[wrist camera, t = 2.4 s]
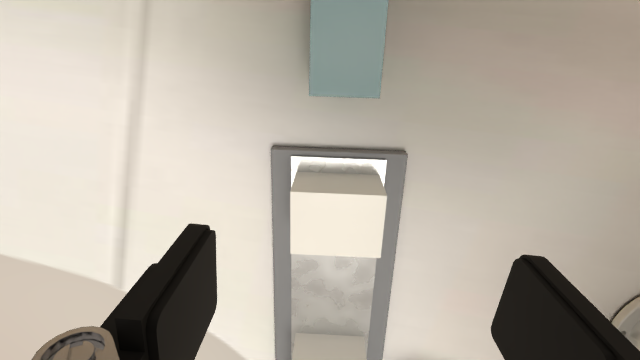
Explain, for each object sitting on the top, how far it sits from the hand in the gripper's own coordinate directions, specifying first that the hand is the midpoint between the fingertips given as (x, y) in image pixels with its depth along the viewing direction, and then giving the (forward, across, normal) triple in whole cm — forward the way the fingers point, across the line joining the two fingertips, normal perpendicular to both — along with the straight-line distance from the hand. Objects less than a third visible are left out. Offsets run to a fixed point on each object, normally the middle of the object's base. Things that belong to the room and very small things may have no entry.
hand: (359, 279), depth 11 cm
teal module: (+24, 0, -7) cm, 25 cm away
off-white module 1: (+22, 0, +8) cm, 24 cm away
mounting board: (+24, -1, +18) cm, 30 cm away
